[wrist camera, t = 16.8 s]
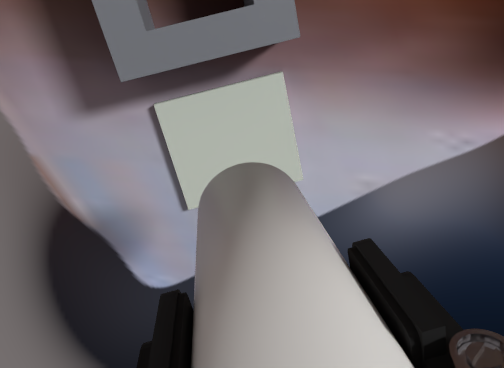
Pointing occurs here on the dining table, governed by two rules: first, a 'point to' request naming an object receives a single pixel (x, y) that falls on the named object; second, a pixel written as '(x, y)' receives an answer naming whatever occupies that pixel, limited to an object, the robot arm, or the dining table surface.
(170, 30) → the grey square holder
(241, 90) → the mat
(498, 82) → the dining table surface
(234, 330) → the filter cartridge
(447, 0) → the dining table surface
